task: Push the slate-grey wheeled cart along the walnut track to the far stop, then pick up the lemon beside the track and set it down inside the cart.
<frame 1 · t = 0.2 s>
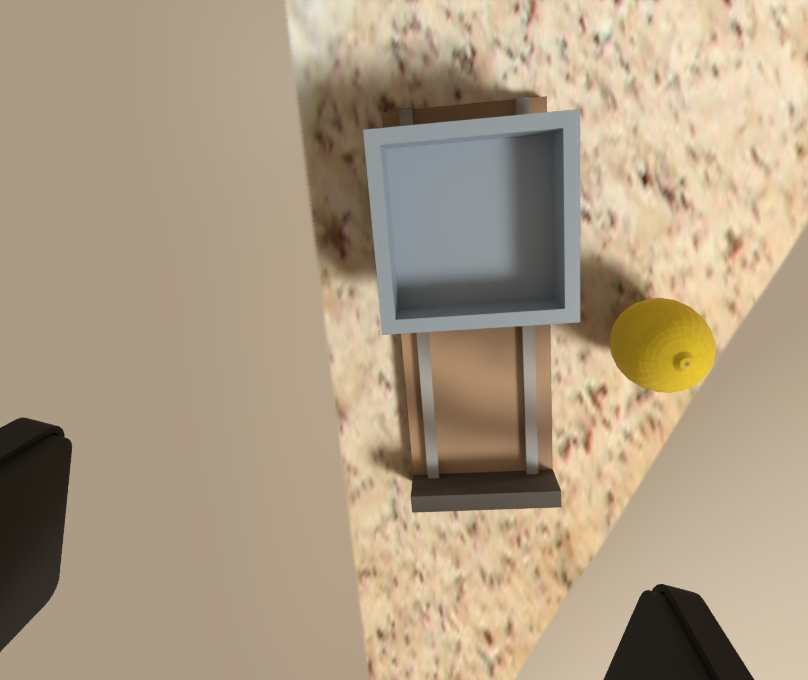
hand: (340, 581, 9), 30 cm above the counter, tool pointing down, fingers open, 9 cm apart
lemon: (636, 327, 38), on the counter
track: (473, 309, 39), on the counter
cart: (472, 225, 32), point 5 cm above the counter, slide at 0.0 cm
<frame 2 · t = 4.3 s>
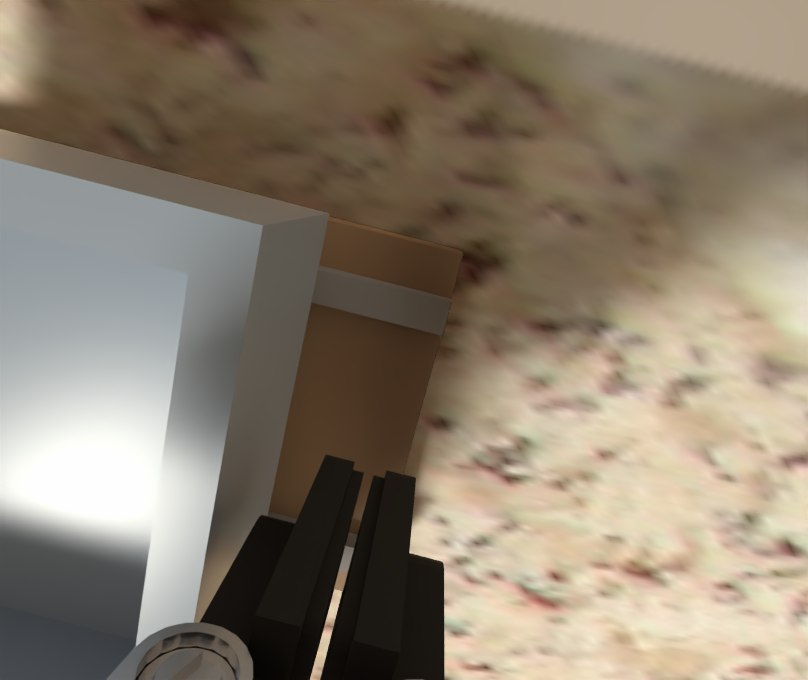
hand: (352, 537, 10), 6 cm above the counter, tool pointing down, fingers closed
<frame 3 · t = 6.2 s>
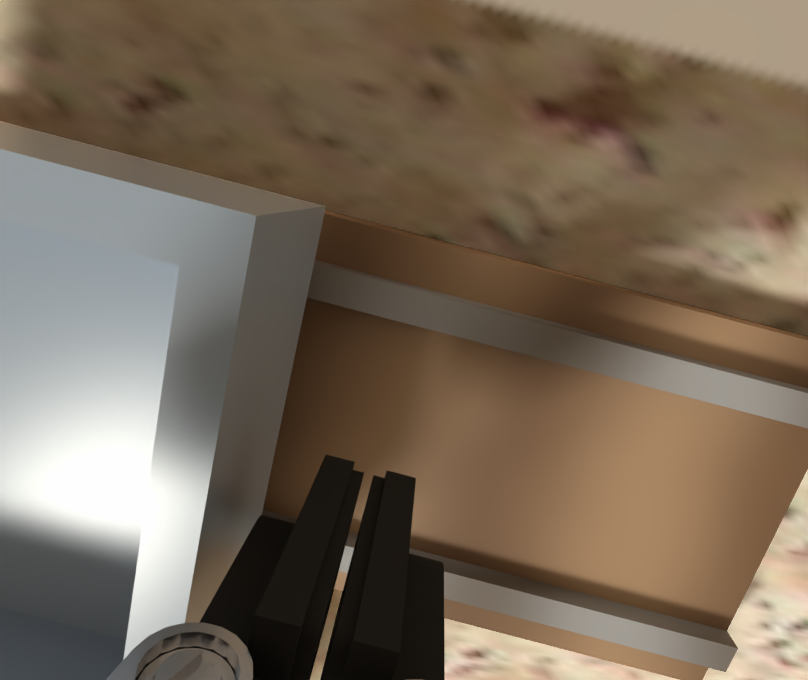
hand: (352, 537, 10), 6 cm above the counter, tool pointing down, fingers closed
track: (295, 393, 15), on the counter
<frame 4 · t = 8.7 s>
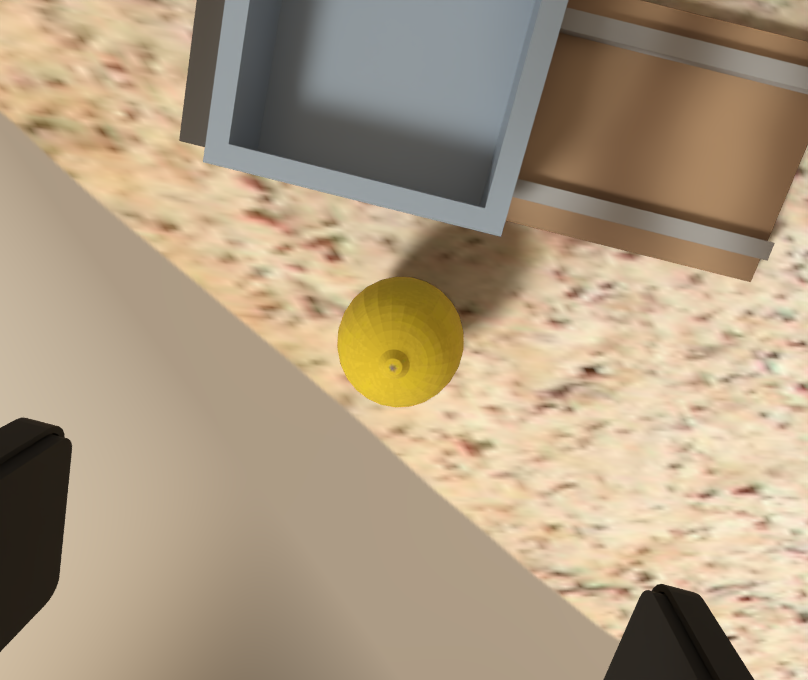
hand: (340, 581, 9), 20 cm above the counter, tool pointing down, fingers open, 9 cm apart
lemon: (407, 319, 29), on the counter
track: (506, 104, 26), on the counter
cart: (394, 54, 21), point 5 cm above the counter, slide at 10.9 cm
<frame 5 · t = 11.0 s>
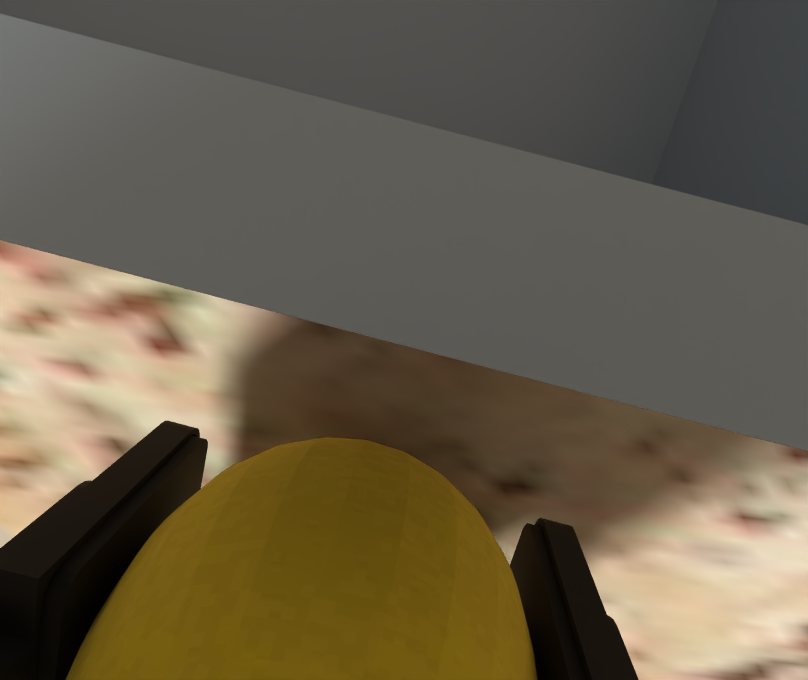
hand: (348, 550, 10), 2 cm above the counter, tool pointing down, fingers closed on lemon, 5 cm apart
lemon: (363, 497, 11), on the counter, touching gripper
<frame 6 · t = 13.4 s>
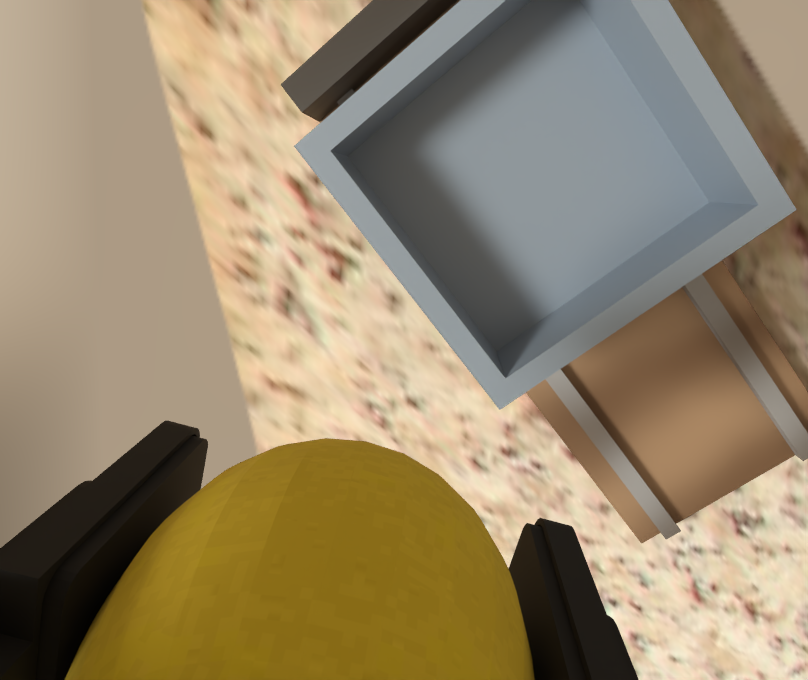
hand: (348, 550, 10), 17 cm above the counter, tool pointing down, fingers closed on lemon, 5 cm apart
lemon: (361, 498, 11), point 16 cm above the counter, touching gripper
track: (574, 269, 25), on the counter
cart: (527, 178, 20), point 5 cm above the counter, slide at 10.9 cm
when the fingers open (8 cm above the counter, at t = 16.1 s): lemon drops 2 cm, resting on cart.
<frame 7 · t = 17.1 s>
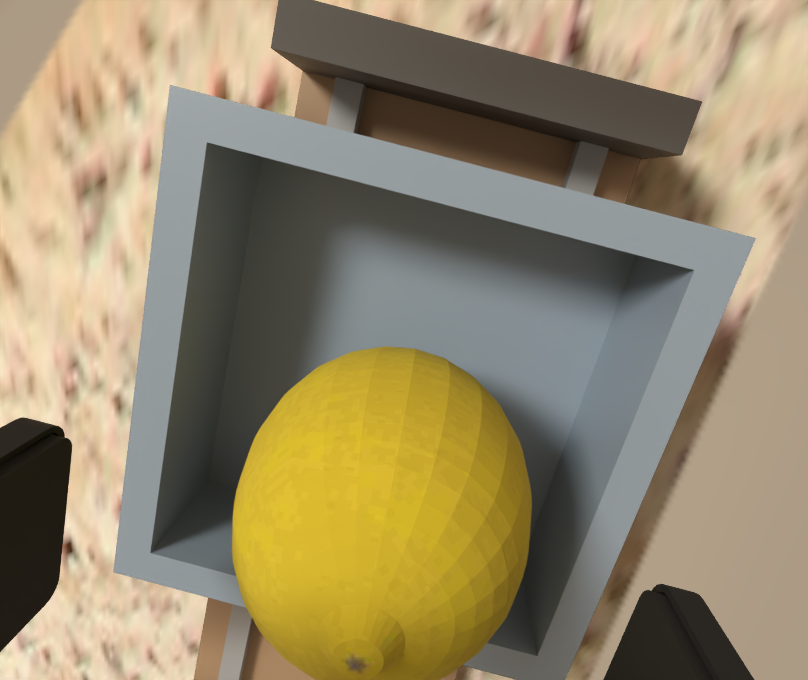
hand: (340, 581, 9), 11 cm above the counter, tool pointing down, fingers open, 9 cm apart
lemon: (402, 406, 15), point 4 cm above the counter, touching cart
track: (380, 455, 20), on the counter
cart: (402, 378, 14), point 5 cm above the counter, slide at 10.9 cm, touching lemon
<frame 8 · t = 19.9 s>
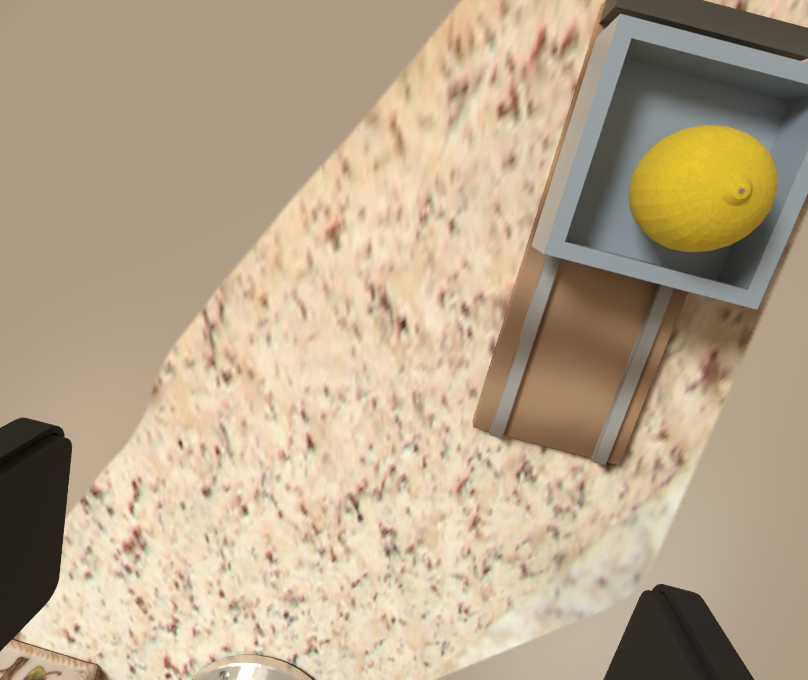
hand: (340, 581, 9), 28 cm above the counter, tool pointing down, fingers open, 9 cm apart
lemon: (661, 190, 30), point 4 cm above the counter, touching cart
track: (608, 254, 35), on the counter
cart: (667, 171, 29), point 5 cm above the counter, slide at 10.9 cm, touching lemon
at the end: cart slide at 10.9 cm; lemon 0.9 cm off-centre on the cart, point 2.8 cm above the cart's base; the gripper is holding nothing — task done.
